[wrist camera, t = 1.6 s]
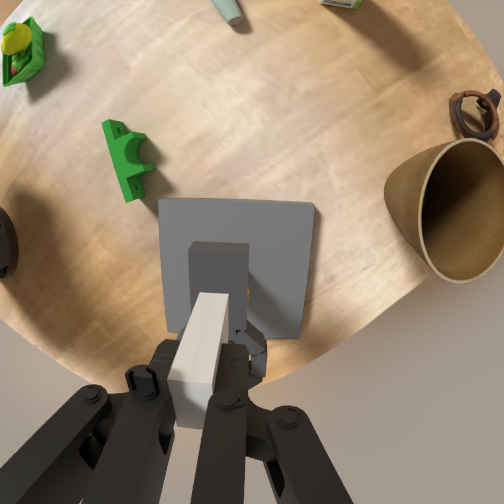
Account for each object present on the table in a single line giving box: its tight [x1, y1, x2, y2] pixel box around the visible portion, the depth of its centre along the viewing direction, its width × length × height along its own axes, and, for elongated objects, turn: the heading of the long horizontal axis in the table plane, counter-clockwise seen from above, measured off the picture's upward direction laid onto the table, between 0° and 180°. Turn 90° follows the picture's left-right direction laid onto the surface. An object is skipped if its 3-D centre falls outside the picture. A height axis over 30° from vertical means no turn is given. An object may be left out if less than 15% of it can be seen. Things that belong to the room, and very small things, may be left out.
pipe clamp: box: [102, 119, 155, 203], centre depth 34 cm, size 11×4×5 cm, turn 17°
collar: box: [177, 241, 267, 390], centre depth 22 cm, size 7×13×2 cm, turn 178°
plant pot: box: [384, 138, 504, 284], centre depth 29 cm, size 15×15×16 cm
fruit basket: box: [1, 17, 45, 87], centre depth 23 cm, size 11×9×11 cm
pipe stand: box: [158, 198, 315, 339], centre depth 40 cm, size 20×20×2 cm
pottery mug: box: [449, 89, 501, 143], centre depth 30 cm, size 12×10×8 cm
